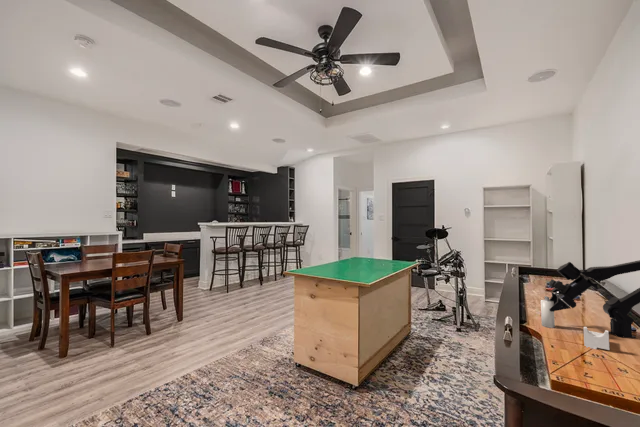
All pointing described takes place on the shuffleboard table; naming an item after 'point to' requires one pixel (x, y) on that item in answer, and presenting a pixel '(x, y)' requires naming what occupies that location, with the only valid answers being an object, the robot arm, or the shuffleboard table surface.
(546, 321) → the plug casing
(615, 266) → the robot arm
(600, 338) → the bracket
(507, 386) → the shuffleboard table surface
